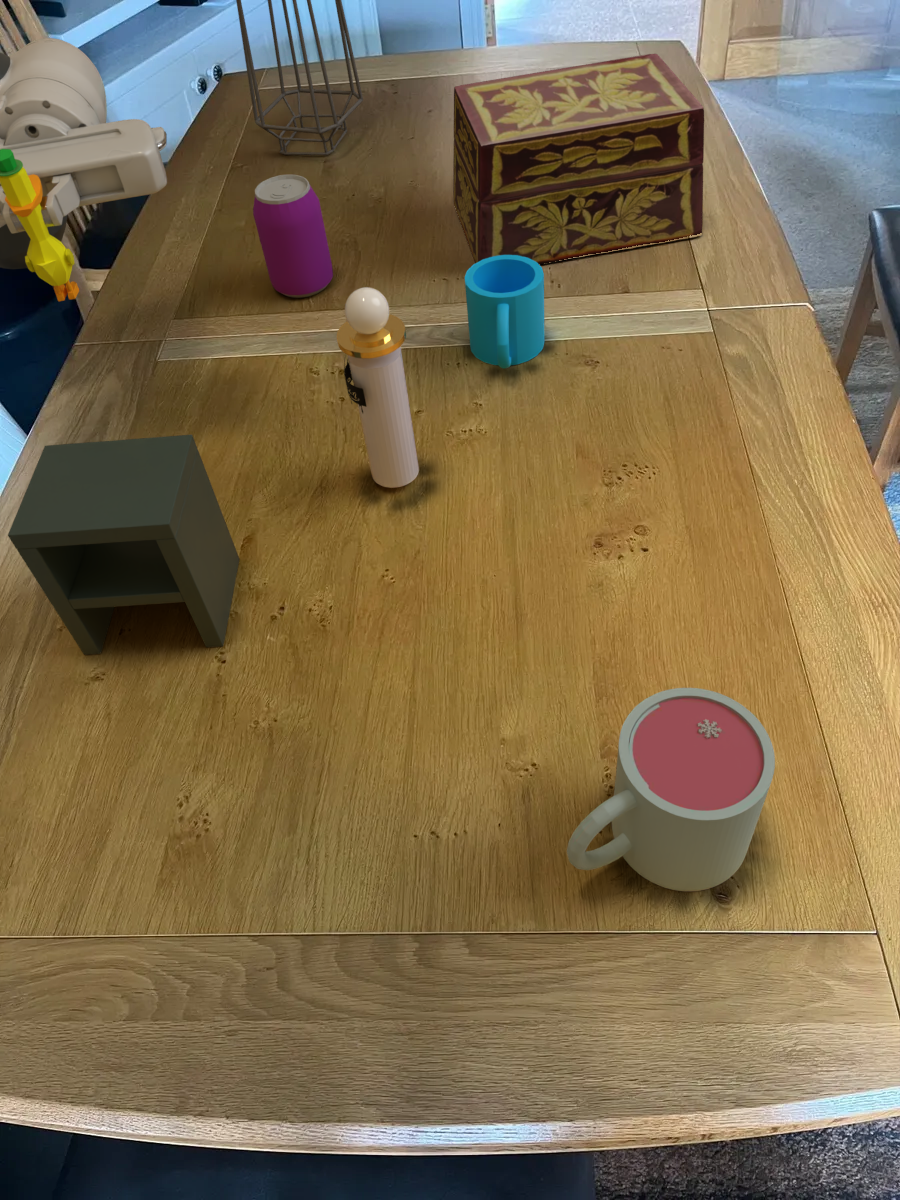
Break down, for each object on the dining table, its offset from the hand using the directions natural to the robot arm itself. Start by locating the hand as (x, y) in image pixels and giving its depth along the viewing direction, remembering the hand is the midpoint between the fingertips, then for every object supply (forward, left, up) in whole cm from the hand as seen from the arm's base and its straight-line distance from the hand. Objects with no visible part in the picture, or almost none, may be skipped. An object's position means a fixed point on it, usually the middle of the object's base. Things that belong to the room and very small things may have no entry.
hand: (31, 220), depth 72 cm
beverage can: (+13, +34, -27) cm, 45 cm away
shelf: (+5, -17, -27) cm, 32 cm away
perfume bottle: (+25, -2, -27) cm, 37 cm away
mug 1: (+37, +16, -27) cm, 48 cm away
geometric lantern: (+11, +73, -27) cm, 78 cm away
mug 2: (+44, -41, -27) cm, 66 cm away
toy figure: (0, +1, -7) cm, 7 cm away
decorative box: (+46, +43, -27) cm, 69 cm away
